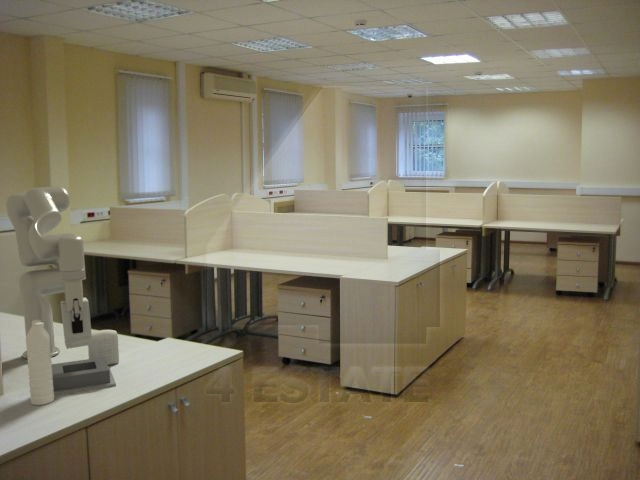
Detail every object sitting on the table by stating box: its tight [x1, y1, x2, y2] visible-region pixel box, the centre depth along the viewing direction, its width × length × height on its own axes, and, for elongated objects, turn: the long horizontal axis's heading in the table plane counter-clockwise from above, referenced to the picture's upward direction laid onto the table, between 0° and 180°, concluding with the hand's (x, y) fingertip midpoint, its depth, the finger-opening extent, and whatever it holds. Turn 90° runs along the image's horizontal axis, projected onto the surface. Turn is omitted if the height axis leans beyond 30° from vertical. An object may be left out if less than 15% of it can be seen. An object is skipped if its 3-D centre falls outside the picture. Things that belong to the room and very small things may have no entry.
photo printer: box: [87, 329, 120, 366], centre depth 228 cm, size 10×4×12 cm, turn 123°
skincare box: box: [60, 297, 93, 350], centre depth 209 cm, size 8×6×15 cm
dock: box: [51, 357, 117, 397], centre depth 211 cm, size 18×20×5 cm
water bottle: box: [25, 320, 55, 406], centre depth 193 cm, size 9×6×25 cm
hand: (77, 329), depth 209 cm, fingers closed on skincare box, 5 cm apart
